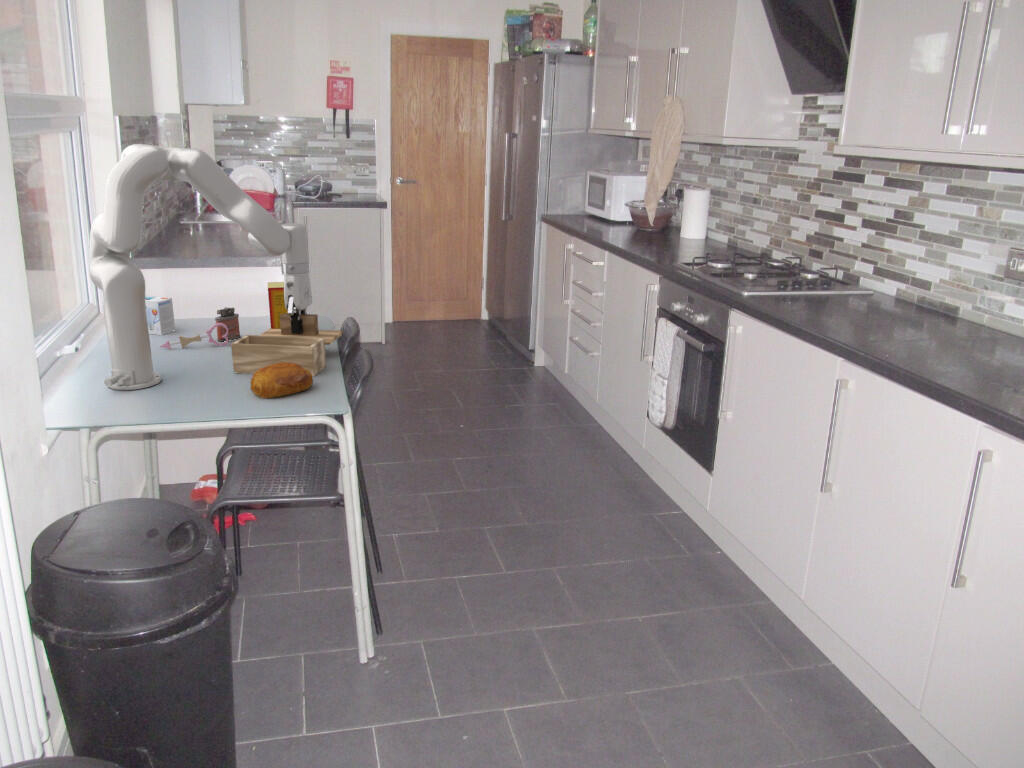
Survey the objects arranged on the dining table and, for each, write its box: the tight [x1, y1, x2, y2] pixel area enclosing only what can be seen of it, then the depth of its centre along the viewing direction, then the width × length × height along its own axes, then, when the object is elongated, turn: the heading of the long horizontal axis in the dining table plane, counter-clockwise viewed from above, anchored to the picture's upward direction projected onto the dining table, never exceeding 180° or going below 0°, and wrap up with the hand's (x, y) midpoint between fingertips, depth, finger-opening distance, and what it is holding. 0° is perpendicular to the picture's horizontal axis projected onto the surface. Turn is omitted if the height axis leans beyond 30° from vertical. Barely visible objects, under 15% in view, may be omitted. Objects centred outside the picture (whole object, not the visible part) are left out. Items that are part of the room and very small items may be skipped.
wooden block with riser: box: [260, 313, 344, 346], centre depth 234 cm, size 10×22×8 cm, turn 84°
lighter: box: [214, 307, 242, 343], centre depth 249 cm, size 8×3×10 cm, turn 149°
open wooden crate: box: [230, 334, 327, 378], centre depth 220 cm, size 10×22×8 cm, turn 84°
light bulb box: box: [145, 295, 176, 336], centre depth 257 cm, size 11×7×11 cm, turn 73°
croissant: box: [250, 362, 314, 399], centre depth 205 cm, size 14×16×8 cm
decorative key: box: [158, 323, 229, 350], centre depth 241 cm, size 7×1×20 cm
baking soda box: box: [267, 281, 288, 329], centre depth 256 cm, size 10×6×16 cm
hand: (299, 331), depth 235 cm, fingers closed on wooden block with riser, 3 cm apart
